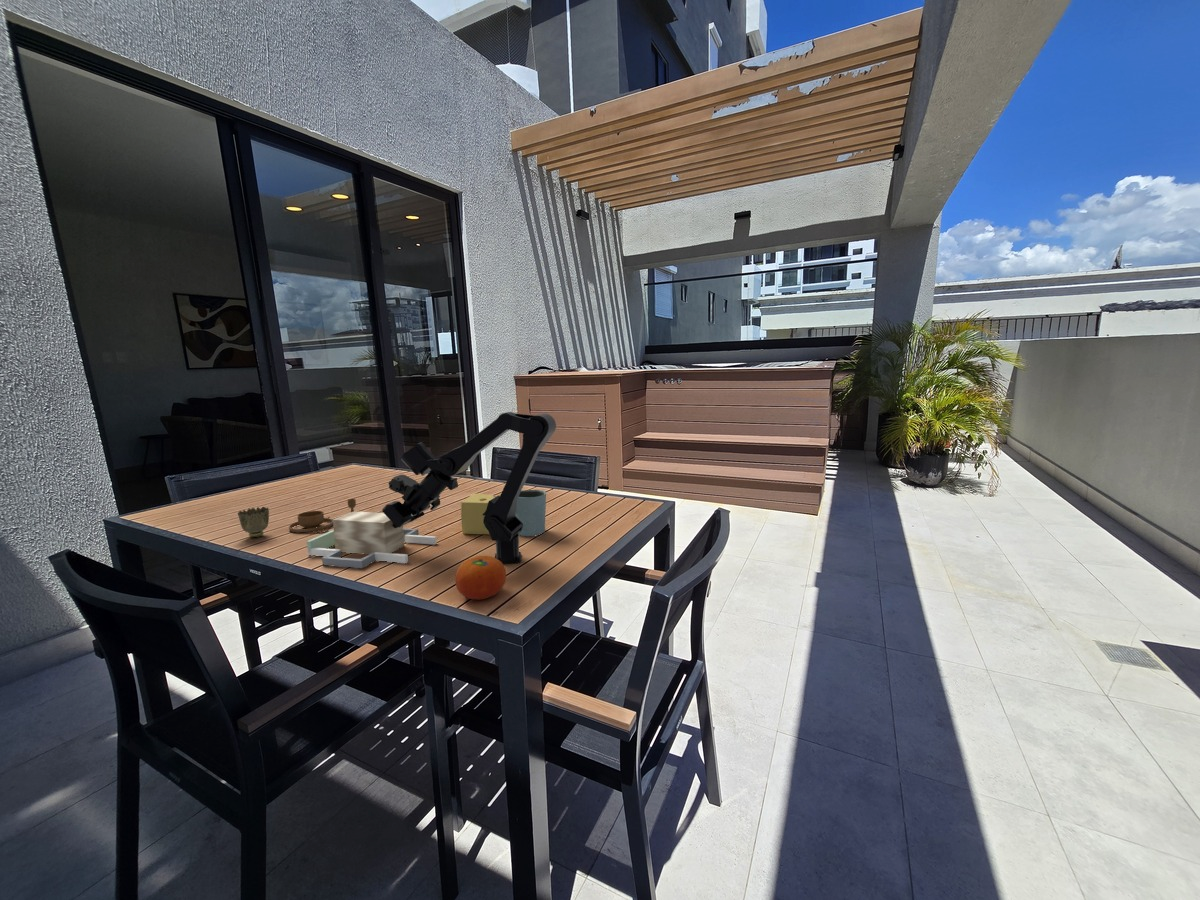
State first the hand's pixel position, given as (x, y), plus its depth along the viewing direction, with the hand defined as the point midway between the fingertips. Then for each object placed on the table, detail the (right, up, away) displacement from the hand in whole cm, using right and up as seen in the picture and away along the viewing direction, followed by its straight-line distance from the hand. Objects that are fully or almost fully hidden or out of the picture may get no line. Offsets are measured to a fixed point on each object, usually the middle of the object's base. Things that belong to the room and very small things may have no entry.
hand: (394, 526), depth 129 cm
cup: (-46, -5, +13) cm, 48 cm away
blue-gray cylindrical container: (+34, -4, +17) cm, 38 cm away
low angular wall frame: (-5, -6, +2) cm, 9 cm away
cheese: (+19, -4, +19) cm, 27 cm away
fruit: (+29, -11, -25) cm, 40 cm away
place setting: (-32, -4, +24) cm, 40 cm away
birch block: (-8, -6, +3) cm, 10 cm away
